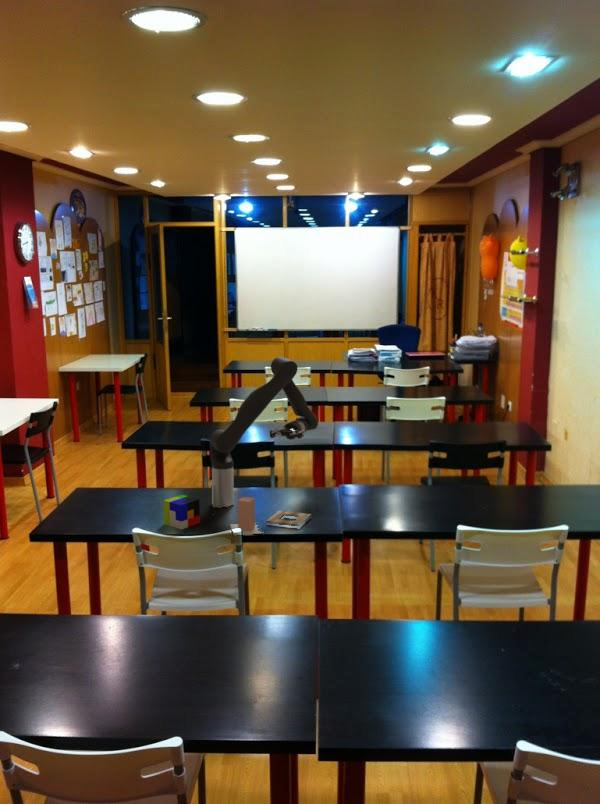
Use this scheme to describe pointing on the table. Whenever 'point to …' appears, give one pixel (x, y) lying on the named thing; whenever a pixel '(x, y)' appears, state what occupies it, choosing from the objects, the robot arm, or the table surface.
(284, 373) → the robot arm
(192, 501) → the puzzle toy
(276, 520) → the puzzle board
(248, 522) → the terracotta block
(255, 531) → the grey pad
